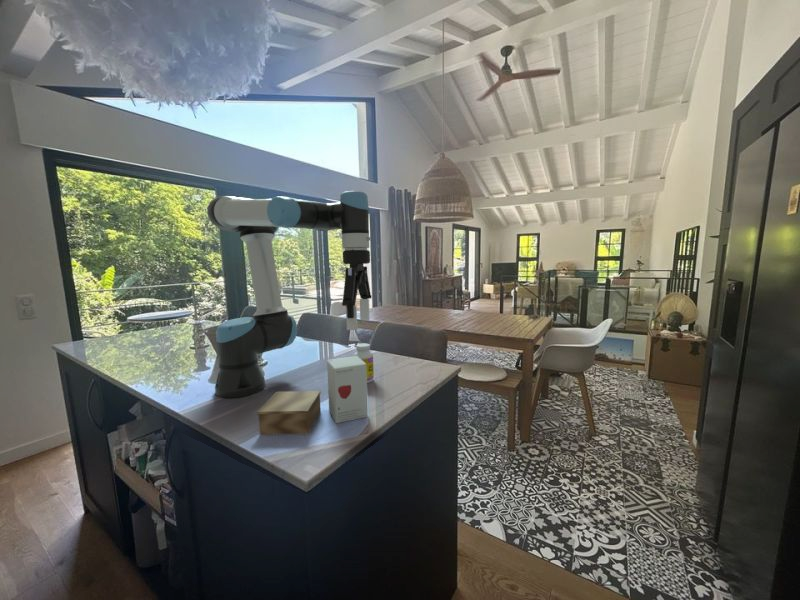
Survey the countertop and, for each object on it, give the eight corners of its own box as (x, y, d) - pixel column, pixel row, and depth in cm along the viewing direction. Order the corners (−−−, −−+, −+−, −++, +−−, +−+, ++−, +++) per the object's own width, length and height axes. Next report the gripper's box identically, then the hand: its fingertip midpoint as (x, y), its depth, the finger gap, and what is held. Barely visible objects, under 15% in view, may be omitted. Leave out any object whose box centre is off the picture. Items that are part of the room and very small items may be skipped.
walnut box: (259, 434, 83) (257, 411, 83) (277, 412, 96) (276, 391, 95) (309, 434, 83) (307, 410, 82) (321, 411, 95) (320, 391, 95)
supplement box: (335, 424, 88) (332, 368, 86) (328, 410, 96) (325, 359, 94) (369, 417, 91) (367, 363, 89) (359, 404, 100) (357, 354, 98)
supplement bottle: (370, 384, 115) (369, 347, 113) (352, 383, 116) (350, 347, 114) (376, 377, 121) (374, 342, 120) (358, 377, 122) (357, 342, 121)
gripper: (357, 248, 81) (360, 334, 84) (378, 250, 106) (380, 317, 108) (327, 249, 82) (331, 334, 85) (355, 250, 107) (358, 316, 110)
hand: (358, 324), depth 97 cm, fingers open, 13 cm apart
